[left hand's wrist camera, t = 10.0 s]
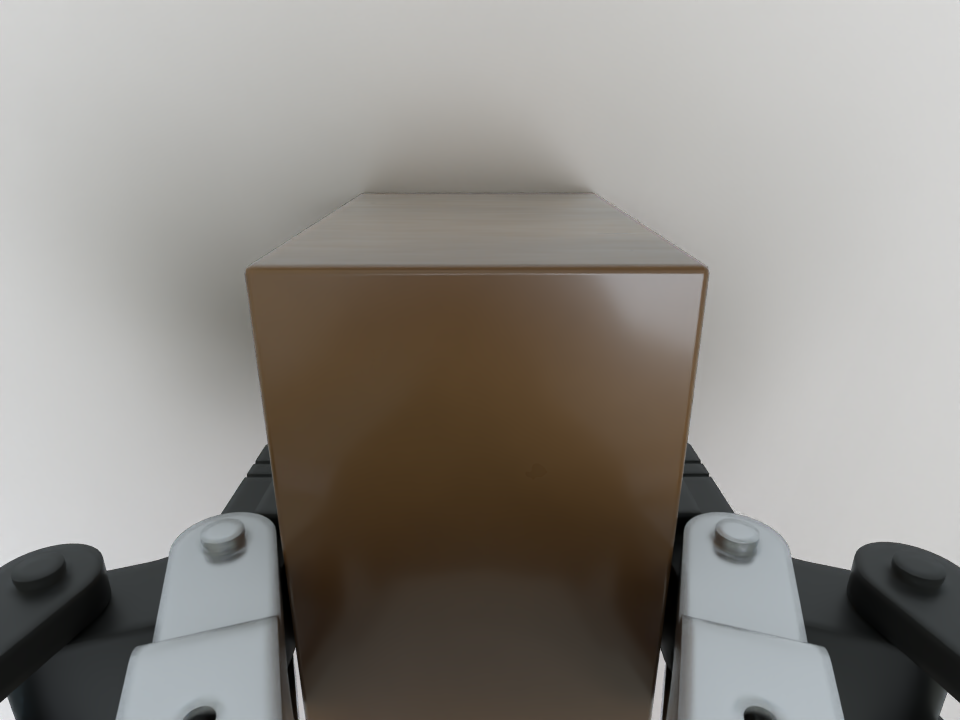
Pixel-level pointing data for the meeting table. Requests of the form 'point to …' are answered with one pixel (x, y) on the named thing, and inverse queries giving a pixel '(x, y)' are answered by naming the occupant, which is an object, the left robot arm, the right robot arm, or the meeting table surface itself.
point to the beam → (477, 451)
